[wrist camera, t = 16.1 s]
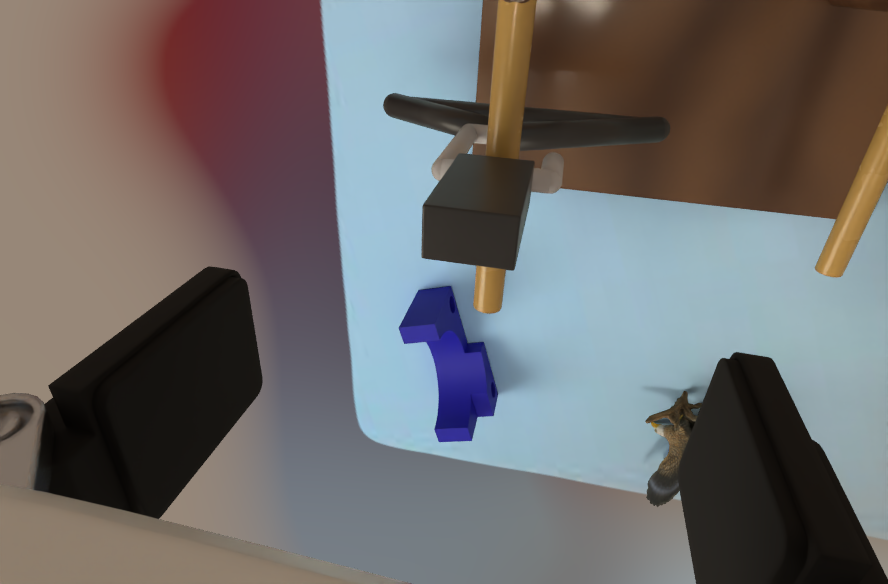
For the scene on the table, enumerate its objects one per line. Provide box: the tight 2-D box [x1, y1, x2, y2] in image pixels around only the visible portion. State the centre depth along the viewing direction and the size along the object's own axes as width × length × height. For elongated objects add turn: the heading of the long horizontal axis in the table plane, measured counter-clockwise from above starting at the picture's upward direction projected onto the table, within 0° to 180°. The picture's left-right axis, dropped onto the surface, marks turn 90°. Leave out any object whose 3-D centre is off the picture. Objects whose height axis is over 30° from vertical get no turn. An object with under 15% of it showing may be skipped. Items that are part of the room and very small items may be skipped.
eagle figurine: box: [645, 391, 702, 507], centre depth 46 cm, size 8×7×9 cm
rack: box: [472, 0, 888, 313], centre depth 26 cm, size 26×14×21 cm, turn 88°
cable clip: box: [399, 286, 498, 442], centre depth 47 cm, size 12×4×6 cm, turn 15°
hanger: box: [383, 93, 670, 270], centre depth 21 cm, size 14×2×15 cm, turn 88°
